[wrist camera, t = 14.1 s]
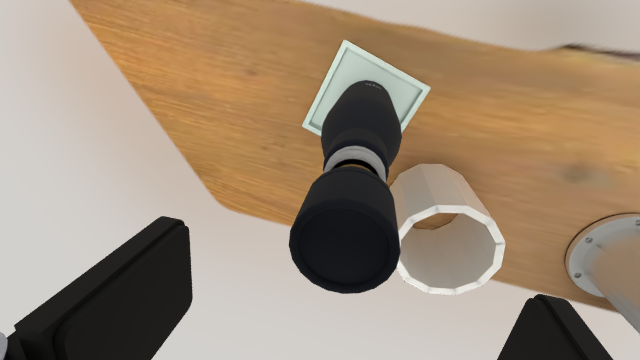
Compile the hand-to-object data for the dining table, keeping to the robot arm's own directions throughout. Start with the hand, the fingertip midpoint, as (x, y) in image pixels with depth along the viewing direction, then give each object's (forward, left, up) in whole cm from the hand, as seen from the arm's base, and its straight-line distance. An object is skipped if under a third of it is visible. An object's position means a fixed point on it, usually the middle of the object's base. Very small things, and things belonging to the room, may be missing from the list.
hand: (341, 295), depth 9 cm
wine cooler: (-14, +7, -33) cm, 36 cm away
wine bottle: (0, 0, -32) cm, 32 cm away
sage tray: (0, 0, -33) cm, 33 cm away
